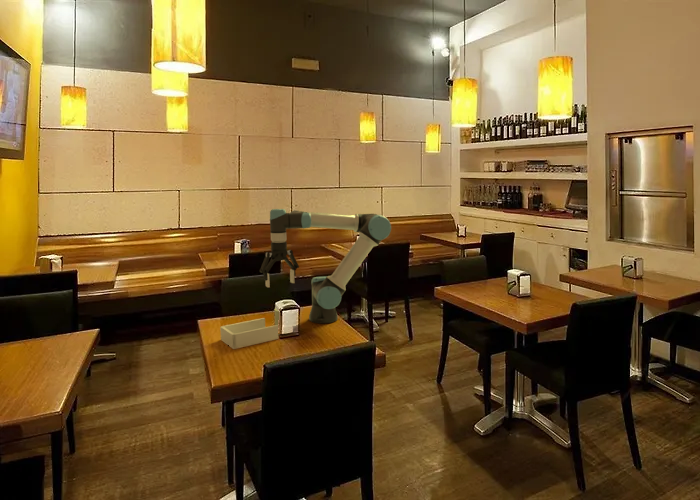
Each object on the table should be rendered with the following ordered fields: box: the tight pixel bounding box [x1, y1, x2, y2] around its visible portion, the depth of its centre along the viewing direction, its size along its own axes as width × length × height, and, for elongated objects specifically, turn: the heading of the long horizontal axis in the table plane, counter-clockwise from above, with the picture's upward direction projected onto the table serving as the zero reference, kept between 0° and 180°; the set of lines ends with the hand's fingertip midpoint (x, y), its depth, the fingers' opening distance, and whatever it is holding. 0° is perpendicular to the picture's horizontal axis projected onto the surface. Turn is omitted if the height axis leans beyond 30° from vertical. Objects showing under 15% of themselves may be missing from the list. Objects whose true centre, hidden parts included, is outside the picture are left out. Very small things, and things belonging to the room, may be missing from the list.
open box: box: [219, 317, 279, 350], centre depth 217 cm, size 22×15×6 cm
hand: (280, 284), depth 225 cm, fingers open, 13 cm apart
